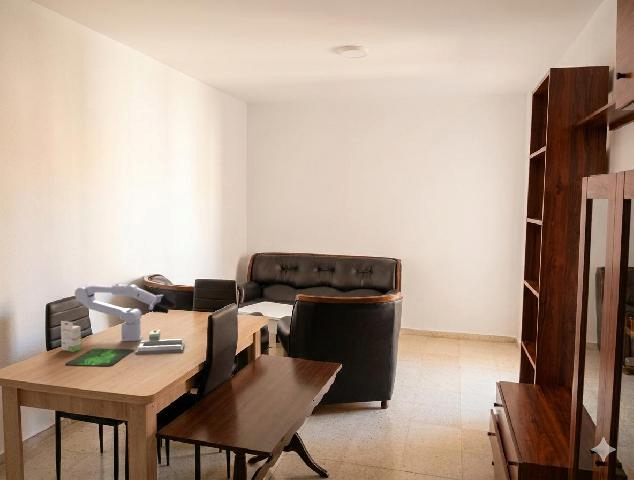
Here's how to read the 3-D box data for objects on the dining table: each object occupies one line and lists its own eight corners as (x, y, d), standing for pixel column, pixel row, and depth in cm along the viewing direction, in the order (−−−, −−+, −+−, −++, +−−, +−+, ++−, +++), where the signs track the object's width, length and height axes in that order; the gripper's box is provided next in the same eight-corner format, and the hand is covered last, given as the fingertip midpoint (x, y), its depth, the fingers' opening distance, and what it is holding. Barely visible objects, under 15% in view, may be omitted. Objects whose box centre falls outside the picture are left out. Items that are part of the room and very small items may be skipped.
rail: (137, 351, 248) (137, 347, 248) (141, 344, 259) (141, 340, 259) (180, 349, 252) (180, 345, 252) (182, 342, 263) (182, 339, 263)
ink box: (81, 349, 255) (81, 320, 253) (73, 352, 250) (72, 322, 249) (69, 347, 258) (68, 318, 257) (61, 349, 254) (60, 320, 253)
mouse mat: (92, 348, 257) (92, 346, 257) (136, 349, 256) (136, 347, 256) (63, 366, 230) (63, 364, 230) (111, 367, 229) (111, 365, 229)
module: (149, 345, 262) (149, 332, 262) (151, 341, 270) (150, 328, 270) (158, 345, 263) (158, 332, 263) (160, 341, 271) (160, 328, 271)
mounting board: (135, 354, 247) (135, 351, 247) (139, 346, 260) (139, 344, 260) (182, 352, 252) (182, 349, 252) (184, 344, 264) (184, 342, 264)
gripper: (143, 297, 264) (167, 308, 264) (155, 286, 278) (178, 296, 278) (139, 308, 267) (163, 319, 267) (151, 296, 280) (174, 307, 281)
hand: (170, 308), depth 273 cm, fingers open, 7 cm apart
